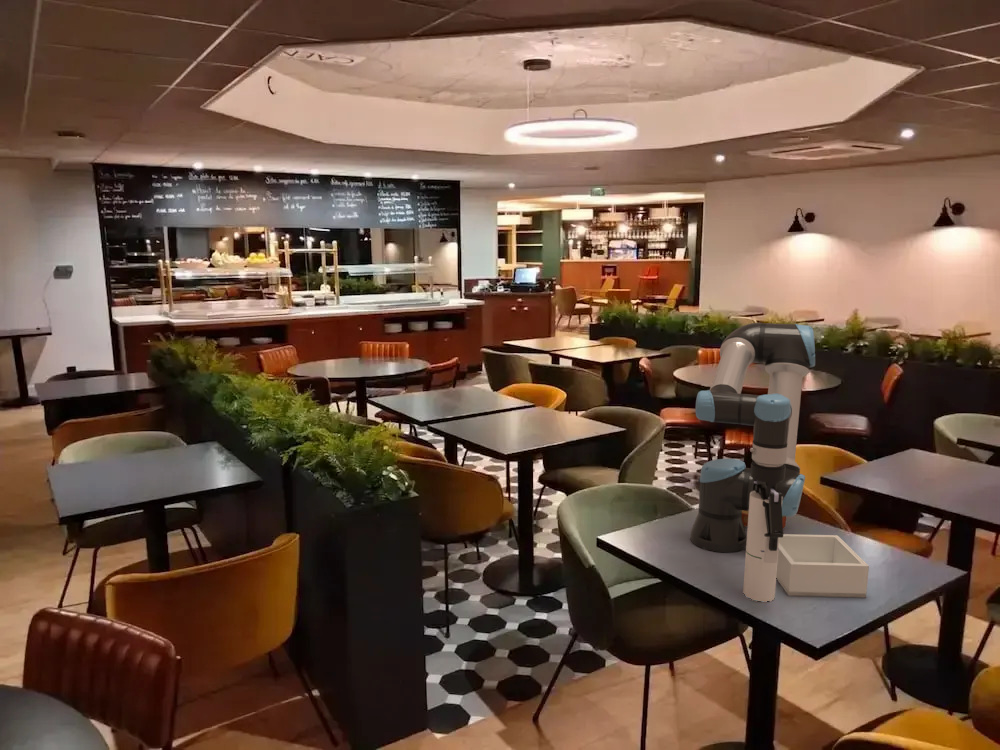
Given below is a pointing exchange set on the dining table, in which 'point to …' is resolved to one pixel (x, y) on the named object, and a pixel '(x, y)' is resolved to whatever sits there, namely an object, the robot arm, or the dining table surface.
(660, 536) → the dining table surface
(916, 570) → the dining table surface
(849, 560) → the beige bin
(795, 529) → the dining table surface
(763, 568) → the cylindrical container
